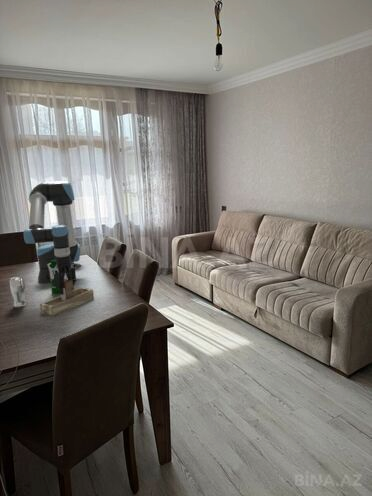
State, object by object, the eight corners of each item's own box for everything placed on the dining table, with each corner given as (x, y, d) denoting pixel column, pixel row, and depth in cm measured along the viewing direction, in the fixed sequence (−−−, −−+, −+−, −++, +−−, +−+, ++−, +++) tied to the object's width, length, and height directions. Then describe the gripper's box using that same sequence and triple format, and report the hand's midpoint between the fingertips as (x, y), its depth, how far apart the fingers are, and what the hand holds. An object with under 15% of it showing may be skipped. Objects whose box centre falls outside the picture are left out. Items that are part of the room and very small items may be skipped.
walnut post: (61, 299, 182) (59, 281, 180) (68, 296, 186) (66, 278, 184) (67, 300, 180) (65, 282, 178) (74, 297, 184) (72, 279, 182)
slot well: (41, 313, 175) (39, 304, 174) (81, 295, 198) (80, 287, 197) (53, 316, 170) (52, 307, 169) (93, 298, 193) (92, 289, 192)
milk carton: (49, 294, 203) (45, 261, 198) (59, 288, 211) (55, 257, 206) (61, 295, 200) (57, 261, 195) (71, 290, 208) (68, 257, 204)
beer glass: (16, 303, 190) (12, 277, 187) (29, 302, 191) (25, 276, 187) (11, 308, 183) (6, 281, 180) (24, 307, 184) (20, 280, 180)
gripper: (53, 260, 169) (59, 305, 174) (80, 252, 184) (85, 293, 189) (43, 258, 172) (49, 302, 177) (70, 251, 187) (75, 291, 192)
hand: (67, 298), depth 183 cm, fingers closed on walnut post, 4 cm apart
